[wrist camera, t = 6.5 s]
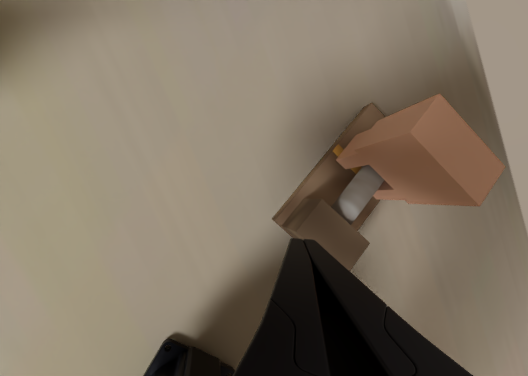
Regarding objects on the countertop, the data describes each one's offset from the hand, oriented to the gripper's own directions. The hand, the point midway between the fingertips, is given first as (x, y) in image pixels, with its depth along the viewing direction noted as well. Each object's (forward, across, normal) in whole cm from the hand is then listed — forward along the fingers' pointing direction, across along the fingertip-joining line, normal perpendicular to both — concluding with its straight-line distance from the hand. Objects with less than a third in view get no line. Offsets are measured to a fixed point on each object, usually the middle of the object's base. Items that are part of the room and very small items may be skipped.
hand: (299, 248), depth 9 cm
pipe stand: (+14, -7, +3) cm, 16 cm away
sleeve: (+14, -8, +1) cm, 16 cm away
